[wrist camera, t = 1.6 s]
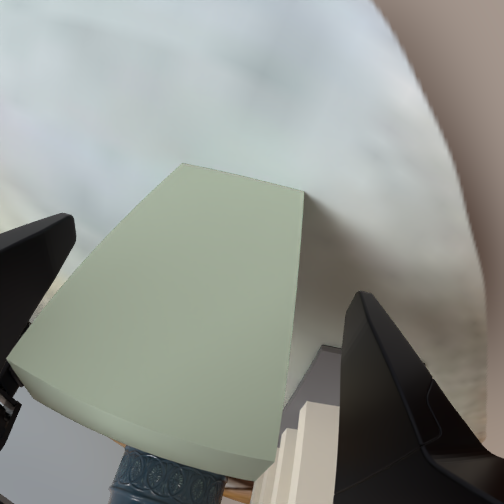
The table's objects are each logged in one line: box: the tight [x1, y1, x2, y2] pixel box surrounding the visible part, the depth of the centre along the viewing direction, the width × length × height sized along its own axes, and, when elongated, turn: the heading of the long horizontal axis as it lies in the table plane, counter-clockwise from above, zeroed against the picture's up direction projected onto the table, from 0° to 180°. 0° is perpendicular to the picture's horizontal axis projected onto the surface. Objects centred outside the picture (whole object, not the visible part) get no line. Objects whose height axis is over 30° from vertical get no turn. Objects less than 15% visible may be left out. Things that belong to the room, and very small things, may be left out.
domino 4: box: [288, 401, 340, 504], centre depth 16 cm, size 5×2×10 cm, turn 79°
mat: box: [277, 345, 425, 448], centre depth 24 cm, size 7×24×1 cm, turn 169°
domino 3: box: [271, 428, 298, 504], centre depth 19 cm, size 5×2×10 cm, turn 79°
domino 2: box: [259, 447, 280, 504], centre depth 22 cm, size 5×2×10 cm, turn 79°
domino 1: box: [6, 163, 304, 482], centre depth 9 cm, size 5×2×10 cm, turn 79°
